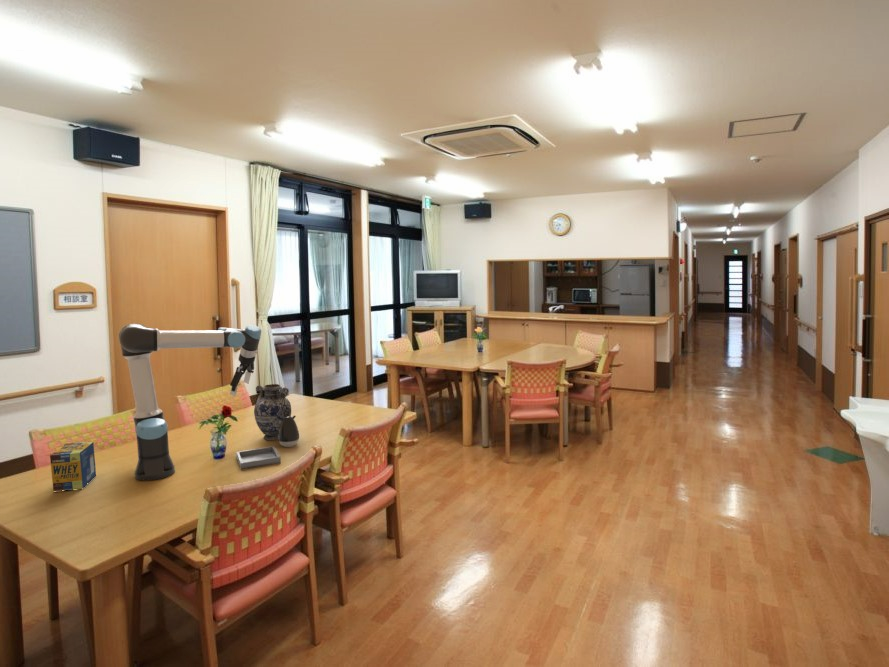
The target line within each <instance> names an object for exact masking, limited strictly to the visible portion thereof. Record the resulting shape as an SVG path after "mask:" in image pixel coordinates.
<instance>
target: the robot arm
mask: <svg viewBox="0 0 889 667" xmlns="http://www.w3.org/2000/svg"><path fill="white" fill-rule="evenodd" d="M261 335H262V329H261V328H260V327H259V326H258V325H254V324H250V325H246V326H245V329H244V328H243V329H242V328H241V329H239V328H231V327H218V328H217V330H160V329H158V328H147V327H146V326H145V325H143V324H141V323H128V324H126V325H125V326H124V327H122V328H121V329H120V331H119V334H118V340H119V344H120V349H121V353H122V357H123V358H124V359H126V360H127V366H128V370H129V376H130V382H131V387H132V393H133V398H134V404H135V410H136V412H135V413H134V415H133V416H132V417H133V422H134V431H135V435H136V444H137V455H138V461H137V464H136V467H135V471H134V478H135V480H137V479H138V480H137V481H141V480H143V481H144V482H145V481H146V482H148V481H156V480H161V479H164V478H168V477H170V476H172V475H173V474H174V473H175V471H176V470H175V469H176V467H175V464H174V462H173V460H172V458H171V456H170V448H169V436H168V432H169V431H168V429H169V428H168V427H169V426H168V423H167V421H166V420H165V416H164V411H163V409H161V408H159V405H158V404H159V403H158V399H157V393H156V387H155V386H156V385H155V381H154V376H153V369H152V364H151V355H152V354H153V352H159V351H160V350H161V349H162V350H163V349H164V350H165V349H166V350H167V349H193V348H195V349H196V348H200V349H201V348H203V349H204V348H206V349H207V348H234V349H238V348H240V351H239V355H238V361H239V363H240V364H239V366H237V367H236V369H235V372H234V375H233V377H232V378H231V379H232V380H231V382H230V383H229V386H231V388H230V393H229V395H230V396H233V397H236V396H237V392H238V388H239V383H240V381H241V379H242V377H243V376H244V378H243V381H242V382H243V383H245V384H249V383H250V381H251V376H252V374H254V370H255V359H256V355H257V354H258V346H259V344H260V340H261Z"/></svg>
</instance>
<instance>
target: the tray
mask: <svg viewBox="0 0 889 667" xmlns="http://www.w3.org/2000/svg"><path fill="white" fill-rule="evenodd" d="M235 454H236V460H237V463H238V466H239V468H240V470H241V471H242V470H247V469H254V468H259V467H266V466H271V465H278V464H281V455H280V454H279V452H278V451H277V449H276V447H275V446H274V445H273V446H266V447H259V448H254V449H253V448H252V449H247V450H240V451H239V450H238V451H236V453H235Z"/></svg>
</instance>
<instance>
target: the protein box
mask: <svg viewBox="0 0 889 667" xmlns="http://www.w3.org/2000/svg"><path fill="white" fill-rule="evenodd" d="M94 447H95V446H94V441H89V442H73V443H72V442H71V443H65V444H64V445H62V446H61V447H59V448H58V449H57V450H55V451H54V452H53V453H52V454H50V455H49V458H50V471H51V480H52V490H53V491H62V490H73V489H82V488H83V487H85V486H86V485H87V483H89V482H90V481H91V480H92V479H93V478H94V477H95V476H96V477H97V471H96V470H97V469H96V460H95V448H94ZM96 477H95V478H96ZM95 478H94V479H95ZM94 479H93V480H94ZM93 480H92V481H93ZM92 481H91V482H92ZM91 482H90V483H91ZM90 483H89V484H90ZM86 487H87V486H86ZM86 487H85V488H86Z"/></svg>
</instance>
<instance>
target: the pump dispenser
mask: <svg viewBox="0 0 889 667" xmlns="http://www.w3.org/2000/svg"><path fill="white" fill-rule="evenodd" d="M295 418H296V415H293V416H292V415H291V416H286V417H284V418H283V420H282V422H281V425H280V428H279V434H278V442H279V444H280V446H282V447H284V448H292V447H294V446H296V445H297V444H298V442H299V440H300V433H299V429H298V428H299V427H298V425H297V422H296V421H295Z"/></svg>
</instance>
